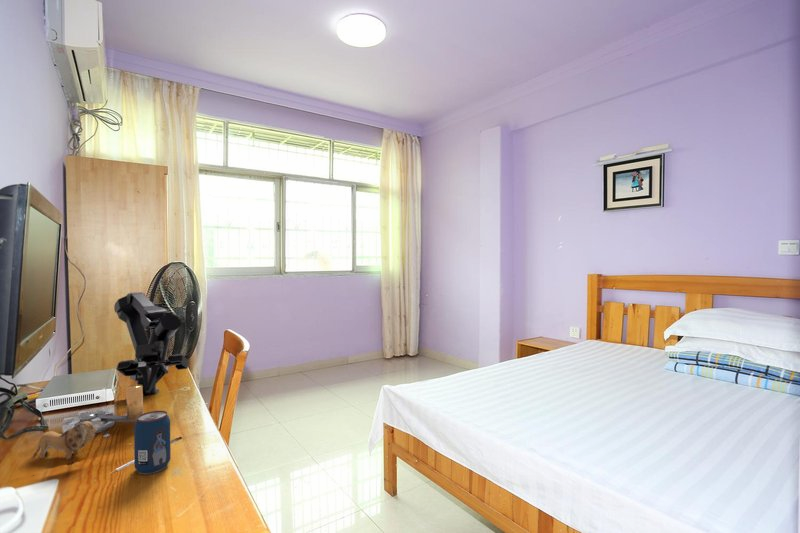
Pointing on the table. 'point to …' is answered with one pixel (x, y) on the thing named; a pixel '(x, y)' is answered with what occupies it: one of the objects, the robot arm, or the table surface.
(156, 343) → the robot arm
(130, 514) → the table surface
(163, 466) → the soda can
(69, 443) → the lion figurine
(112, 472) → the pencil
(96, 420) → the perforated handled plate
